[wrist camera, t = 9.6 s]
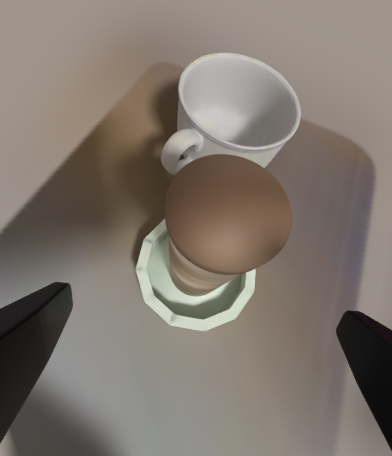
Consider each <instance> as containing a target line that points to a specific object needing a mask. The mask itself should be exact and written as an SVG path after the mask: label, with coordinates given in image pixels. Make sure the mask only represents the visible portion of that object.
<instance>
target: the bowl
mask: <svg viewBox="0 0 392 456" xmlns="http://www.w3.org/2000/svg"><path fill="white" fill-rule="evenodd" d="M255 271H256V269H254V270H252V271H249V272H246V273H242V274H241V275H239V276H237V277H236V278H234V279H232V280H231V281H229V282H227V283H226V284H224V285H222V286H220V287H219V288H217V289H215V290H214V291H212V292H210V293H209V294H206V295H203V296H196V297H195V296H189V295H186V294H184V293H182V292H181V291H180V290H178V289H177V288H176V286H175V285H174V284H173V282H172V280H171V277H170V270H169V245H168V232H167V228H166V223H165V218H164V220H163V221H162V222H161V223H160V224H159V225H158V226H157V227H155V228H154V229H153V230H152V231H151V232H150V233H149V234H148V235H147V236H146V237H145V238H144V241H143V244H142V248H141V252H140V255H139V259H138V263H137V266H136V272H137V276H138V279H139V283H140V287H141V290H142V294H143V297H144V301H145V303H147V304H148V305H149V306H150V307H151V308H152V309H153V310H154V311H155V312H156V313H158V314H159V315H160V316H161V317H162V318H163V319H164V320H165V321H166V322H167V323H168V324H169V325H172V326H177V327H183V328H188V329H194V330H199V331H203V332H205V331H207V330H209V329H212V328H214V327H216V326H219V325H221V324H223V323H226V322H228V321H231V320H233V319H236V317H237V316H238V314H239V313H240V311H241V310H242V309H243V307H244V306H245V304H246V303H247V301H248V300H249V298H250V297H251V295H252V294H253V293H254V286H255Z"/></svg>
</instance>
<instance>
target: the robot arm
mask: <svg viewBox="0 0 392 456" xmlns="http://www.w3.org/2000/svg"><path fill="white" fill-rule="evenodd" d="M72 307H73V301H72V291H71V286H70V284H69V283H62V282H55V283H52V284H50V285H48V286H46V287H44V288H42V289H40V290H38V291H36V292H34V293H32V294H30V295H28V296H26V297H23V298H21V299H19V300H17V301H15V302H13V303H11V304H9V305H7V306H5V307H3V308H1V309H0V443H1V441H2V440H3V438H4V436H5V435H6V433H7V431H8V429H9V428H10V426H11V424H12V423H13V421H14V419H15V417H16V416H17V414H18V412H19V411H20V409H21V407H22V406H23V404H24V402H25V400H26V399H27V397H28V395H29V394H30V392H31V390H32V388H33V387H34V385H35V383H36V382H37V380H38V378H39V376H40V375H41V373H42V371H43V370H44V368H45V366H46V364H47V362H48V361H49V358H50V356H51V354H52V352H53V350H54V348H55V346H56V344H57V342H58V339H59V337H60V335H61V333H62V331H63V329H64V326H65V324H66V322H67V320H68V318H69V316H70V313H71V311H72ZM336 334H337V337H338V339H339V342H340V344H341V347H342V349H343V351H344V354H345V356H346V359H347V361H348V363H349V366H350V368H351V371H352V373H353V375H354V378H355V380H356V382H357V384H358V386H359V388H360V390H361V392H362V394H363V396H364V398H365V400H366V402H367V404H368V406H369V408H370V410H371V412H372V414H373V416H374V418H375V420H376V422H377V424H378V425H379V427H380V429H381V431H382V433H383V435H384V437H385V439H386V441H387V443H388V445H389V447H390V449H391V451H392V330H391V329H389V328H387V327H386V326H384V325H382V324H380V323H379V322H377V321H375V320H374V319H372V318H370V317H369V316H367V315H365V314H364V313H362V312H359V311H351V310H348V311H346V312H345V313H344V314H343V316H342V318H341V320H340V322H339V324H338V326H337V328H336Z"/></svg>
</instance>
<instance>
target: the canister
mask: <svg viewBox="0 0 392 456" xmlns="http://www.w3.org/2000/svg"><path fill="white" fill-rule="evenodd" d="M164 212H165V223H166V228H167V232H168V245H169V270H170V277H171V280H172V282H173V284H174V285H175V286H176V288H177V289H178V290H180V291H181V292H182V293H184V294H186V295H189V296H195V297H196V296H203V295H206V294H209V293H210V292H212V291H214V290H215V289H217V288H219V287H220V286H222V285H224V284H226V283H227V282H229V281H231V280H232V279H234V278H236V277H237V276H239V275H241V274H242V273H246V272H249V271H252V270H254V269H256V268H258V267H260V266H261V265H263V264H265V263H267V262H268V261H270V260H271V259H272V258H274V257H275V256H276V255H277V254H278V253H279V252H280V250H281V249H282V248H283V246H284V245H285V243H286V241H287V239H288V236H289V234H290V230H291V222H292V215H291V208H290V203H289V200H288V197H287V195H286V193H285V191H284V189H283V188H282V186H281V185H280V183H279V182H278V181H277V180H276V178H275V177H274V176H273V175H272V174H271V173H270V172H268V171H267V170H266V169H265V168H263V167H262V166H260V165H259V164H257V163H255V162H253V161H251V160H248V159H246V158H243V157H239V156H235V155H229V154H214V155H208V156H204V157H200V158H198V159H195V160H193V161H191V162H190V163H188V164H186V165H185V166H184V167H183V168H181V169H180V170H179V171H178V172H177V173H176V175H175V176H174V177H173V179H172V180H171V182H170V184H169V186H168V189H167V192H166V195H165V201H164Z"/></svg>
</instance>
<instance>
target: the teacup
mask: <svg viewBox="0 0 392 456" xmlns="http://www.w3.org/2000/svg"><path fill="white" fill-rule="evenodd" d="M178 96H179V103H178V116H177V132H176V133H175V134H173V135H172V136H171V137H170V138H169V140H168V141H167V142H166V144H165V146H164V148H163V150H162V153H161V163H162V165H163V167H164V168H165V169H166V170H167V171H168V172H169V173H170V174H172V175H176V173H177V172H178V171H179V170H180V169H181V168H183V167H184V166H185V165H186V164H188V163H190V162H191V161H193V160H195V159H198V158H200V157H204V156H208V155H214V154H229V155H235V156H239V157H243V158H246V159H248V160H251V161H253V162H255V163H257V164H259V165H260V166H262V167H263V168H265V167H266V166H267V164H268V163H269V162H270V161H271V160H272V159H273V158H274V156H275V155H276V154H277V153H278V151H279V150H280V149H281V148H282V146H283V145H284V144H285V142H287V141H288V140H289V139H290V138H291V137H292V136H293V135H294V133H295V131H296V130H297V128H298V126H299V122H300V117H301V110H300V105H299V101H298V98H297V96H296V94H295V92H294V90H293V89H292V88H291V86H290V85H289V83H288V82H287V81H286V80H285V79H284V78H283V76H282V75H281V74H280V73H279V72H277V71H275V70H274V69H272V68H271V67H270V66H268V65H267V64H265V63H263V62H261V61H259V60H257V59H254V58H251V57H248V56H244V55H240V54H232V53H216V54H208V55H206V56H202V57H200V58H198V59H196V60H195V61H193V62H192V63H191V64H190V65H189V66H187V67H186V69H185V70H184V71H183V73H182V74H181V77H180V81H179V85H178ZM181 155H183V156H184V158H185V159H182V160H179V158H180V156H181ZM178 160H179V161H178Z"/></svg>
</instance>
